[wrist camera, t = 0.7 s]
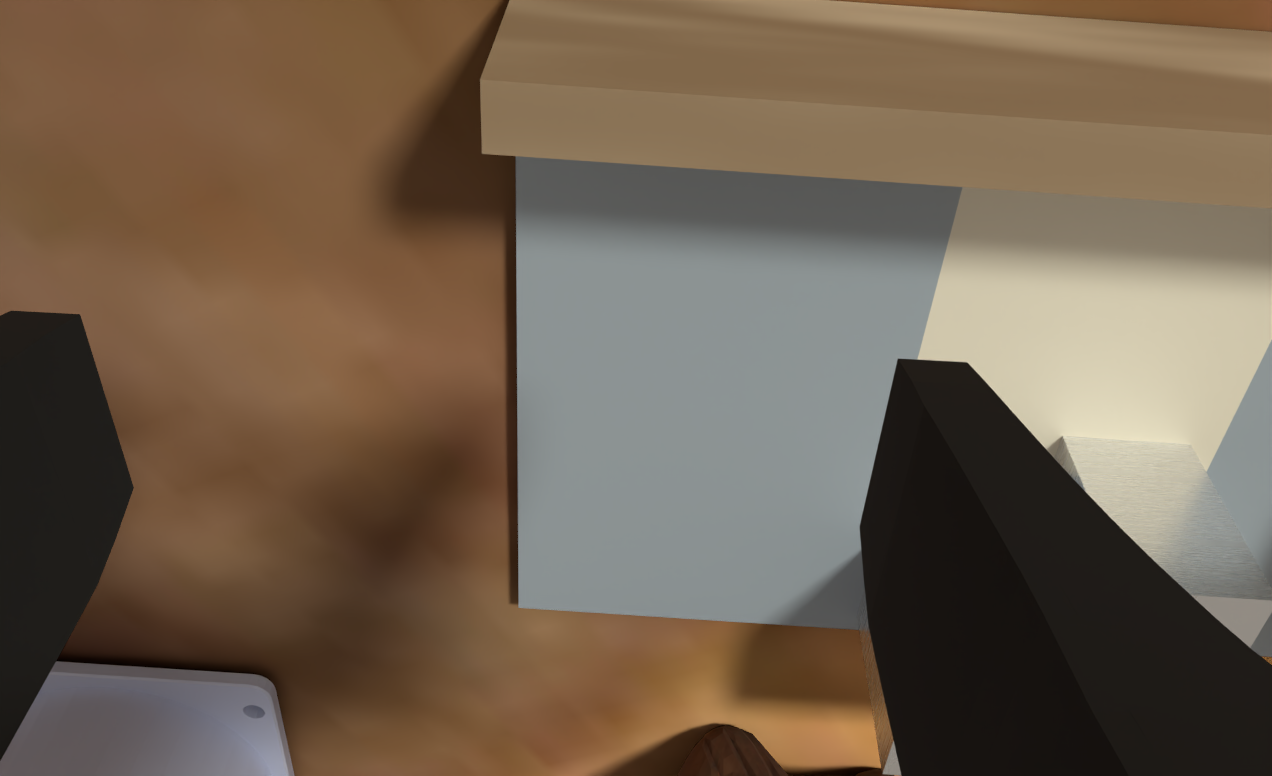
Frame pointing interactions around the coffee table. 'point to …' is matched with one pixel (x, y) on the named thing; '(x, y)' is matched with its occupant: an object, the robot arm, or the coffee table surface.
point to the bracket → (1144, 540)
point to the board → (843, 365)
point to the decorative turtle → (735, 756)
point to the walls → (887, 96)
